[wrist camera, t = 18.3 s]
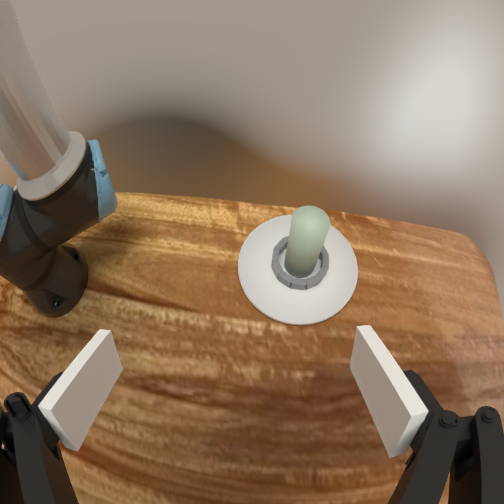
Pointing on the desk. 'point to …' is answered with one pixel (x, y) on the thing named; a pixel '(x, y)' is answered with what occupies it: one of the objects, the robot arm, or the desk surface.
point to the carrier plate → (288, 287)
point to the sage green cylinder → (305, 240)
